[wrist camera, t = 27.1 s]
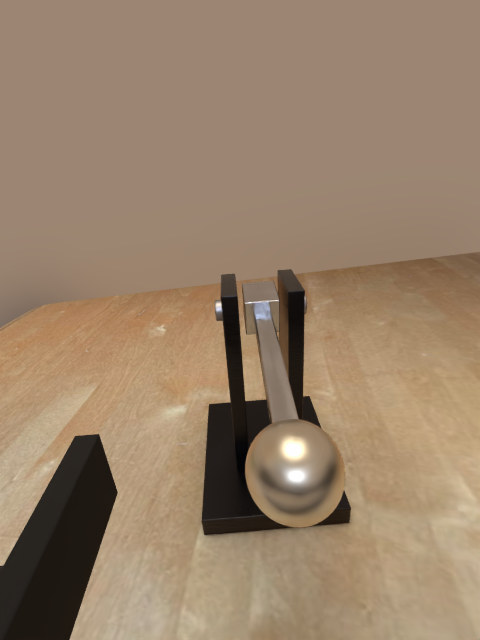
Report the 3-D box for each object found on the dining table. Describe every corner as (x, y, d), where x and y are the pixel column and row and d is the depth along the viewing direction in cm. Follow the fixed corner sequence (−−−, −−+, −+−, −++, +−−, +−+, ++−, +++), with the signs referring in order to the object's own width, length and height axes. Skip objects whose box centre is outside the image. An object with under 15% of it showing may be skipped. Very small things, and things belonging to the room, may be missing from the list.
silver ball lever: (353, 543, 12) (368, 483, 10) (251, 552, 12) (246, 493, 10) (283, 317, 25) (283, 271, 23) (234, 320, 25) (230, 275, 23)
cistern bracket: (349, 522, 23) (373, 312, 16) (204, 535, 23) (168, 328, 16) (309, 407, 34) (313, 253, 27) (210, 415, 34) (190, 262, 27)
